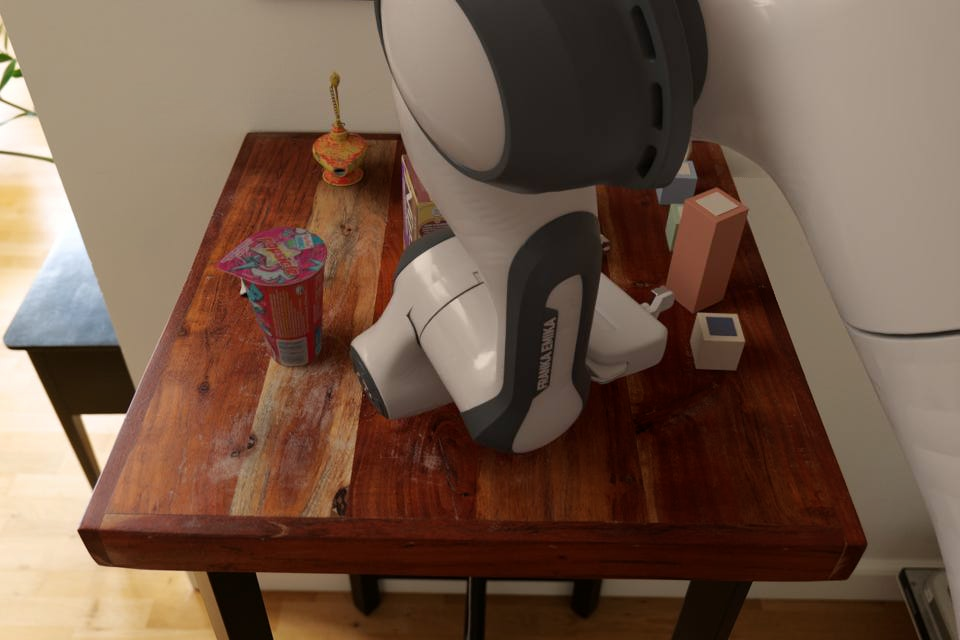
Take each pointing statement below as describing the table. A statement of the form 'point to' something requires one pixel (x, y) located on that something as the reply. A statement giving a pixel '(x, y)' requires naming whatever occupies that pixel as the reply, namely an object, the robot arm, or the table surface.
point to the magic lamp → (340, 148)
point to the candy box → (417, 206)
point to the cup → (283, 289)
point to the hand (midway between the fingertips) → (636, 268)
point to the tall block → (705, 249)
